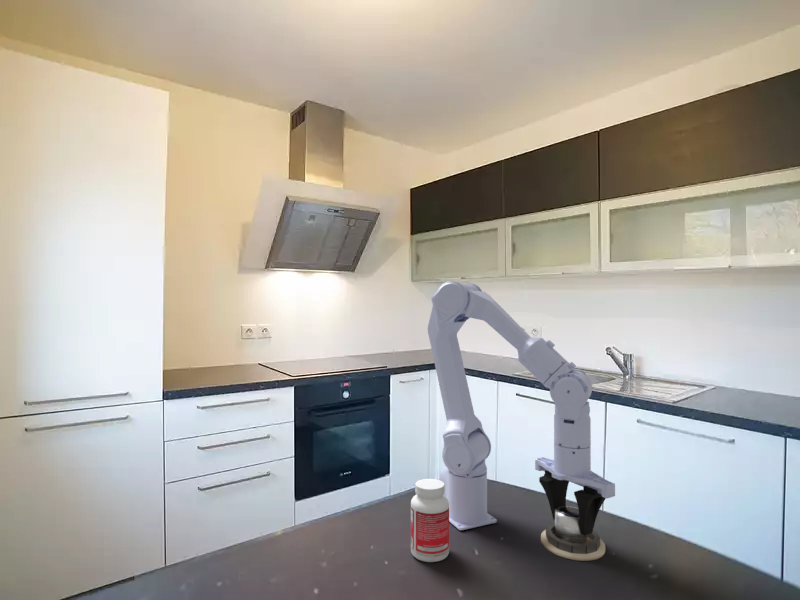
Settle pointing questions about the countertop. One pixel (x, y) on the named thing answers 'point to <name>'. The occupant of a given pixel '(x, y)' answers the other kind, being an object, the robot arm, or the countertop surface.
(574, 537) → the lens
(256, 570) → the countertop surface
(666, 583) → the countertop surface
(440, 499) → the pill bottle
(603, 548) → the mount
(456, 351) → the robot arm
